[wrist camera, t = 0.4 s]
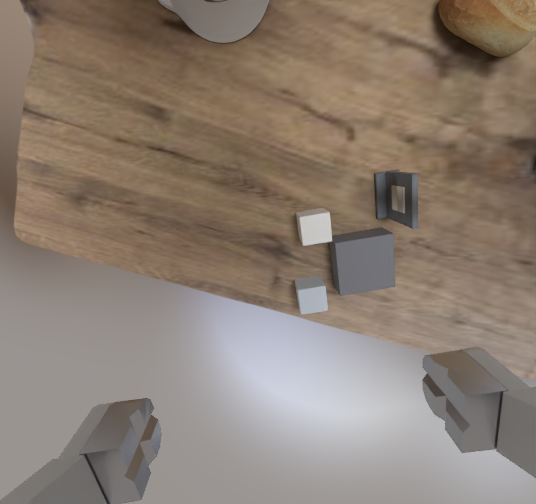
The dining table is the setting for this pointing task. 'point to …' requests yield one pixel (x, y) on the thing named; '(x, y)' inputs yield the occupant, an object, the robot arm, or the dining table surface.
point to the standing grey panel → (397, 197)
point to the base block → (363, 261)
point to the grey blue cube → (311, 294)
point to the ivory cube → (314, 226)
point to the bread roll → (491, 23)
